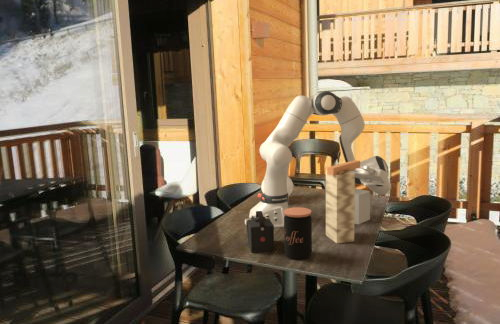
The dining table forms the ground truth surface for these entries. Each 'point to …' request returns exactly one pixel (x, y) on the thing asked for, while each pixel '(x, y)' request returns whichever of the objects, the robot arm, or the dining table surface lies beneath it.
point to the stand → (340, 206)
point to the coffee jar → (297, 233)
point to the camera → (260, 233)
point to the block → (343, 167)
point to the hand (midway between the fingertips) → (356, 166)
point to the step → (361, 206)
